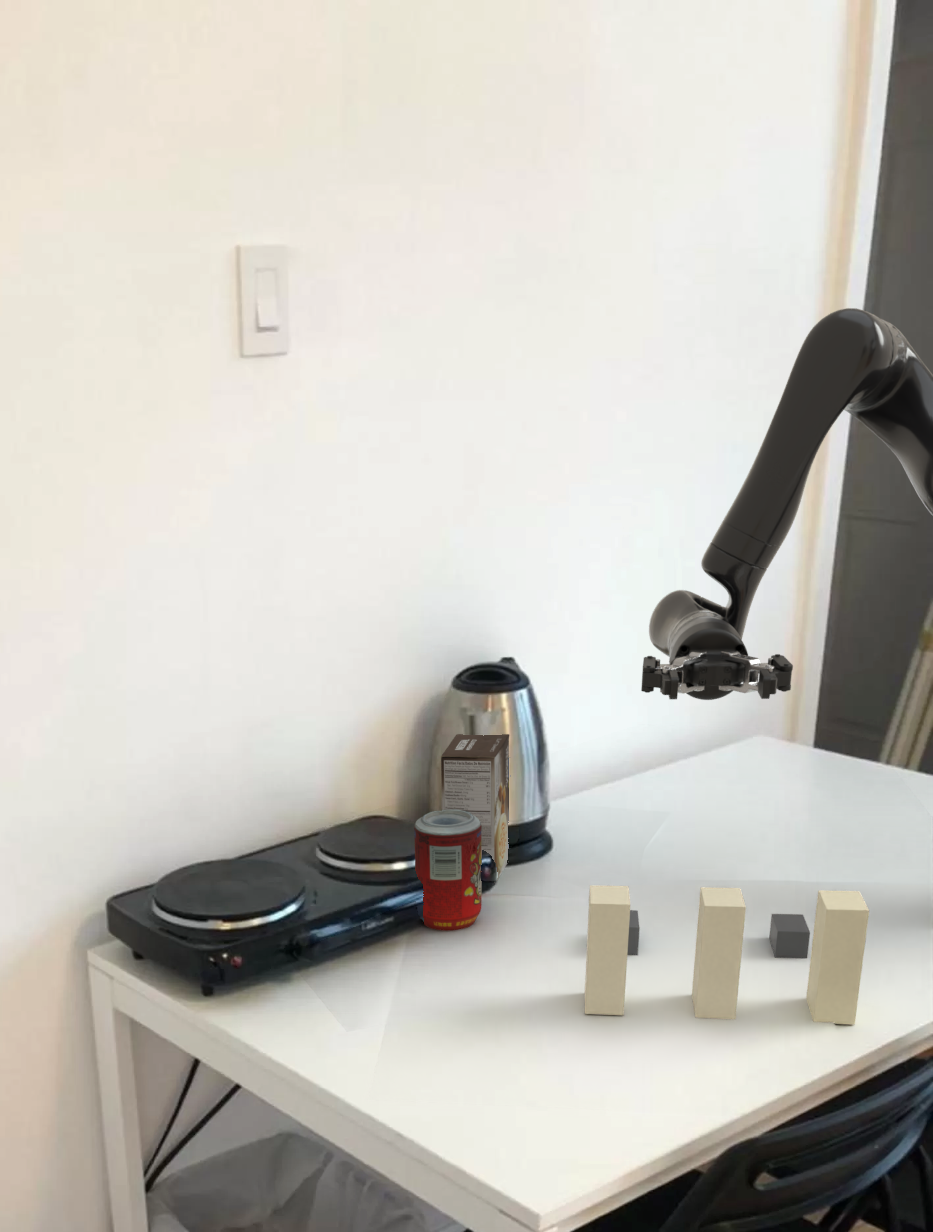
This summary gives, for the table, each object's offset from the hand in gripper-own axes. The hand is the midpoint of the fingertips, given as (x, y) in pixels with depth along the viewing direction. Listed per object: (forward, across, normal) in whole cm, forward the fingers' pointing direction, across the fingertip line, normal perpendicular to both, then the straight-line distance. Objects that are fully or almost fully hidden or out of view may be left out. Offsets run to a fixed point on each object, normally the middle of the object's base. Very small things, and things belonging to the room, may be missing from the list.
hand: (720, 688), depth 145 cm
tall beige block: (+18, 0, +26) cm, 32 cm away
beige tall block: (+18, +10, +26) cm, 33 cm away
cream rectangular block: (+18, -10, +26) cm, 33 cm away
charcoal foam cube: (+4, +8, +26) cm, 28 cm away
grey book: (+4, -8, +26) cm, 28 cm away
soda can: (-2, -26, +26) cm, 37 cm away
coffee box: (-18, -24, +26) cm, 40 cm away
